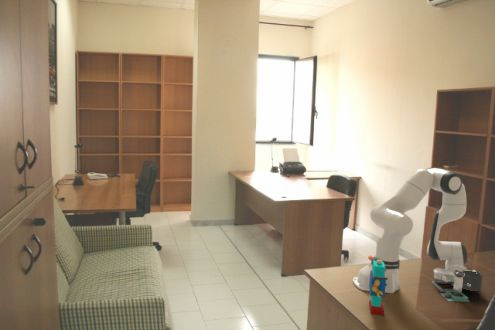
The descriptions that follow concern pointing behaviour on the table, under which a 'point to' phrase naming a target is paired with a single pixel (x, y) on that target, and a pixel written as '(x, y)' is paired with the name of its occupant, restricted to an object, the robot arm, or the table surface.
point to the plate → (451, 297)
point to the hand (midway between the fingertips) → (457, 283)
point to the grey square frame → (442, 283)
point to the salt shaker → (458, 283)
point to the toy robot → (377, 287)
